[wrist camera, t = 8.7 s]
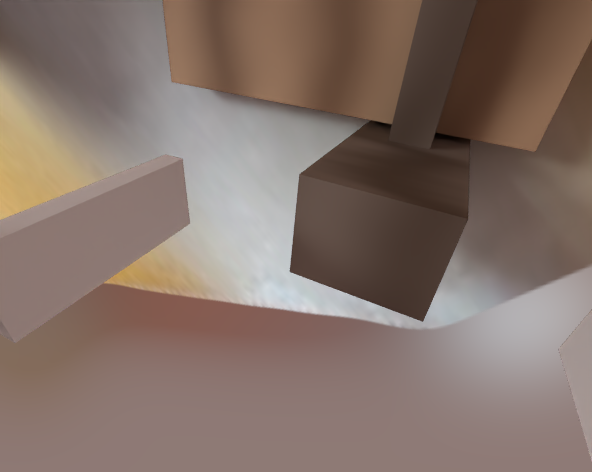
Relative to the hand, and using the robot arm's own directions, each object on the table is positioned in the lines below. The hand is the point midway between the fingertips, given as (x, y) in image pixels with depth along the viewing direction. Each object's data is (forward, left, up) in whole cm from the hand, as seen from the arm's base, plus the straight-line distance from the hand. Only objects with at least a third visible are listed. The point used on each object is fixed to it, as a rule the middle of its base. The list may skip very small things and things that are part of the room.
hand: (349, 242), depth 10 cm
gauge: (0, +5, -10) cm, 11 cm away
